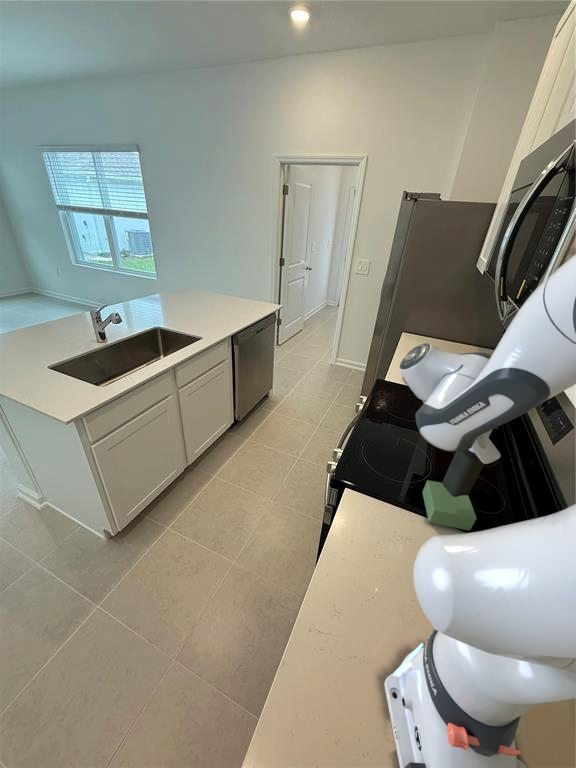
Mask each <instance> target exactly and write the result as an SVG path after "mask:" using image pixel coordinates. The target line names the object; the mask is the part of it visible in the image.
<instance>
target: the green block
mask: <svg viewBox="0 0 576 768" xmlns="http://www.w3.org/2000/svg"><path fill="white" fill-rule="evenodd" d="M421 493H422V497H423V501H424V506H425V512H426V516H427V521H428V523H431V524H434V525H439V526H444V527H450V528H454V529H457V530H458V529H459V530H464V531H469V532H470V531H471V529H472V527H473V526H474V524H475V522H476V521H477V515H476V513H475V510H474V507H473V505H472V502H471V499H470V496H469V494H468V495H467V496H466V495H463V496H458V497H454V496H452V495H450V493H449V492H448V491H447V490H446V488H445V487H444V486H443V484H442V482H440V481H434V480H429V479H428V480H426V482H425V485H424V487H423V490H422V492H421Z"/></svg>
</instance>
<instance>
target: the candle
mask: <svg viewBox="0 0 576 768" xmlns="http://www.w3.org/2000/svg"><path fill="white" fill-rule="evenodd" d="M492 432H493V429H492V430H490V431H488V432H486V433H485V434H486V435H487V437H488V438H489V437H490V435H491V434H492ZM484 466H485V464H484V463H482V461H481V460H480V459H479V458H478V456H477V455H476V454H475V452H474V451H473V450H472V449H471V448H470V449H467V450H463V451H455V453H454V456H453V458H452V460H451V462H450V464H449V467H448V468H447V472H446V473H445V476H444V477H443V480H442V482H441V483H442V484H443V486H444V487H445V488H446V490H447V491H448V492H449V493H450V495H452V496H454V497H458V496H463V495H466V496H467V495H468V496H469V494H470V492H471V491H472V488H473V486H474V484H475V483H476V481H477V479H478V478H479V475H480V474H481V471H482V470H483V467H484Z"/></svg>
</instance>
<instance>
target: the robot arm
mask: <svg viewBox="0 0 576 768" xmlns="http://www.w3.org/2000/svg"><path fill="white" fill-rule="evenodd" d="M399 371H400V374H401V376H402V379H403V378H404V379H403V381H404V380H405V383H406V384H407V386H408V387H409V389H410V390H411V391H412V393H413V394H414V396H416V398H418V399H419V400H421V401H422V402H423V404H422V405H421V406H420V408H419V409H418V410H417V411H416V412H415V423H416V427H417V430H418V433H419V434H420V436H421V437H422V438H423V439H424V441H426V442H427V443H429V444H430V445H432V446H433V447H435V448H437V449H440V450H442V451H445V452H451V453H452V452H456V451H463V450H467V449H470V448H471V449H472V450H473V451H474V452H475V454H476V455H477V456H478V458H479V459H480V460H481V461H482V463H484V465H488V464H491V463H494V462H495V461H498V459H500V458H501V456H502V455H501V453H500V451H499V450H498V448H497V447H496V446H495V444H494V443H493V442H492V440H491V439H490V438H489V437H487V435H486V434H485V433H486V432H488V431H490V430H492V431H493V430H494V429H497V428H498V427H501V426H503V425H504V424H507V423H509V422H511V421H513V420H515V419H517V418H519V417H521V416H522V415H525V414H526V413H528V412H529V411H531V410H533V409H535V408H536V407H538V406H539V405H541V404H543V403H545V402H546V401H548V400H550V399H552V398H554V397H555V396H558V395H559V394H561V393H563V392H564V391H566V390H568V389H570V388H572V387H573V386H575V385H576V253H575V254H573V256H572V257H570V258H569V259H568V260H567V261H566V262H564V263H563V264H562V265H560V267H557V269H556V270H554V271H553V272H552V273H551V274H550V275H549V276H548V277H547V278H546V279H545V280H544V281H542V282H541V283H540V284H539V285H538V286H537V287H536V288H535V290H534V291H533V292H532V293H531V294H530V295H529V297H528V298H527V299H526V300H525V301H524V302H523V304H522V305H521V307H520V308H519V310H518V311H517V312H516V314H515V316H514V317H513V318H512V320H511V322H510V323H509V325H508V327H507V328H506V330H505V332H504V333H503V334H502V337H501V338H500V340H499V342H498V344H497V346H496V347H495V349H494V351H493V352H492V354H490V353H486V352H482V351H481V352H479V351H477V352H476V351H475V352H473V351H472V352H466V353H464V352H463V353H453V352H449V351H445V350H443V349H441V348H439V347H437V346H436V345H434V344H432V343H429V342H426V343H421V344H419V345H416V346H415V347H414V348H411V350H409V351H408V352H407V353H406V355H405V356H404V357H403V359H401V362H400V364H399ZM412 573H413V575H412V577H413V578H412V579H413V587H414V591H415V595H416V599H417V601H418V604H419V606H420V608H421V610H422V612H423V614H424V616H425V618H426V619H427V620H428V622H429V623H430V624H431V626H432V627H433V629H434V630H433V631H431V633H430V634H429V635H428V638H427V639H426V642H425V644H423V642H421V643H420V644H419V645H418V646H417V647H416V648H415V649H414V650H412V651H410V652H409V653H408V654H406V656H405V658H404V659H403V660H402V662H401V664H400V666H399V667H398V668H397V669H396V670H395V671H393V673H391V674H390V675H388V676H387V677H386V678H385V680H384V692H385V697H386V702H387V707H388V712H389V718H390V723H391V728H392V734H393V739H394V745H395V749H396V754H397V761H398V765H399V768H528V767H527V765H526V764H525V763H524V762H523V761H522V760H521V759H517V756H519V755H522V751H520V750H519V749H517V748H516V747H517V746H516V735H519V731H520V729H519V724H520V720H521V718H522V715H524V714H525V713H527V712H529V711H530V710H532V709H533V708H535V707H537V706H541V705H544V704H548V703H555V702H562V701H570V700H575V699H576V503H574V504H572V505H569V506H568V507H566V508H564V509H562V510H559V511H557V512H555V513H551V514H548V515H544V516H540V517H535V518H531V519H527V520H522V521H519V522H518V521H517V522H514V523H510V524H506V525H501V526H497V527H492V528H488V529H484V530H479V531H473V532H466V533H456V534H455V533H454V534H436V535H431V536H430V537H429V538H428V539H427V540H426V541H425V542H424V543H422V545H421V547H420V548H419V549H418V552H417V554H416V556H415V560H414V564H413V571H412ZM393 694H395V697H396V698H394V696H393ZM393 722H394V723H393ZM396 725H397V726H396ZM394 726H395V727H396V728H395V729H394ZM395 731H396V732H397V733H396V734H395ZM398 731H399V732H398ZM397 734H398V735H397ZM396 735H397V737H398V739H396ZM399 737H400V738H399Z"/></svg>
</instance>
